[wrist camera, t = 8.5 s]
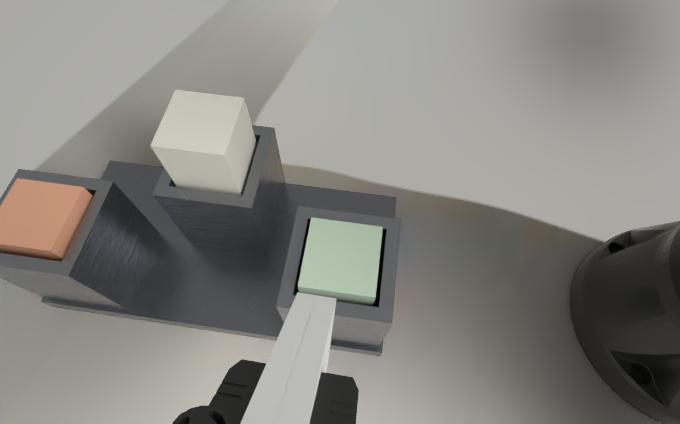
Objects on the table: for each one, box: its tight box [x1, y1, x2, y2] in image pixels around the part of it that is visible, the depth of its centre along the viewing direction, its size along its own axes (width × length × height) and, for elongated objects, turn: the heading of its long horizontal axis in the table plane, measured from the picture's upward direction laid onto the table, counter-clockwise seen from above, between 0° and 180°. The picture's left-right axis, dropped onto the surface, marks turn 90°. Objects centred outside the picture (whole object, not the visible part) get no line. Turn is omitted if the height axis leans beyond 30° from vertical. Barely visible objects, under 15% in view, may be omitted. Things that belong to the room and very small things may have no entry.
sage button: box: [298, 217, 383, 307], centre depth 27 cm, size 4×4×8 cm
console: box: [0, 125, 400, 356], centre depth 31 cm, size 26×13×10 cm, turn 82°
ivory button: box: [150, 90, 257, 196], centre depth 28 cm, size 4×4×8 cm
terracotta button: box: [0, 178, 93, 261], centre depth 29 cm, size 4×4×8 cm
